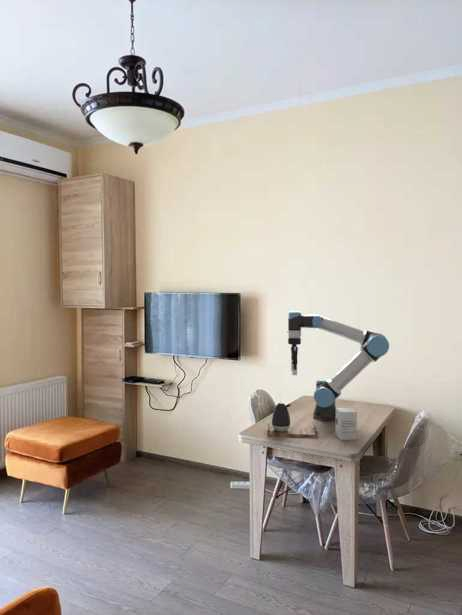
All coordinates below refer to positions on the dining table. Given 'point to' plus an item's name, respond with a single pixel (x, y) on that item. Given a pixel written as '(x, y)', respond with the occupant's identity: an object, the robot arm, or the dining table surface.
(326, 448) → the dining table surface
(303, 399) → the dining table surface
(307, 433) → the ledge board
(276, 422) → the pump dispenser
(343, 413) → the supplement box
